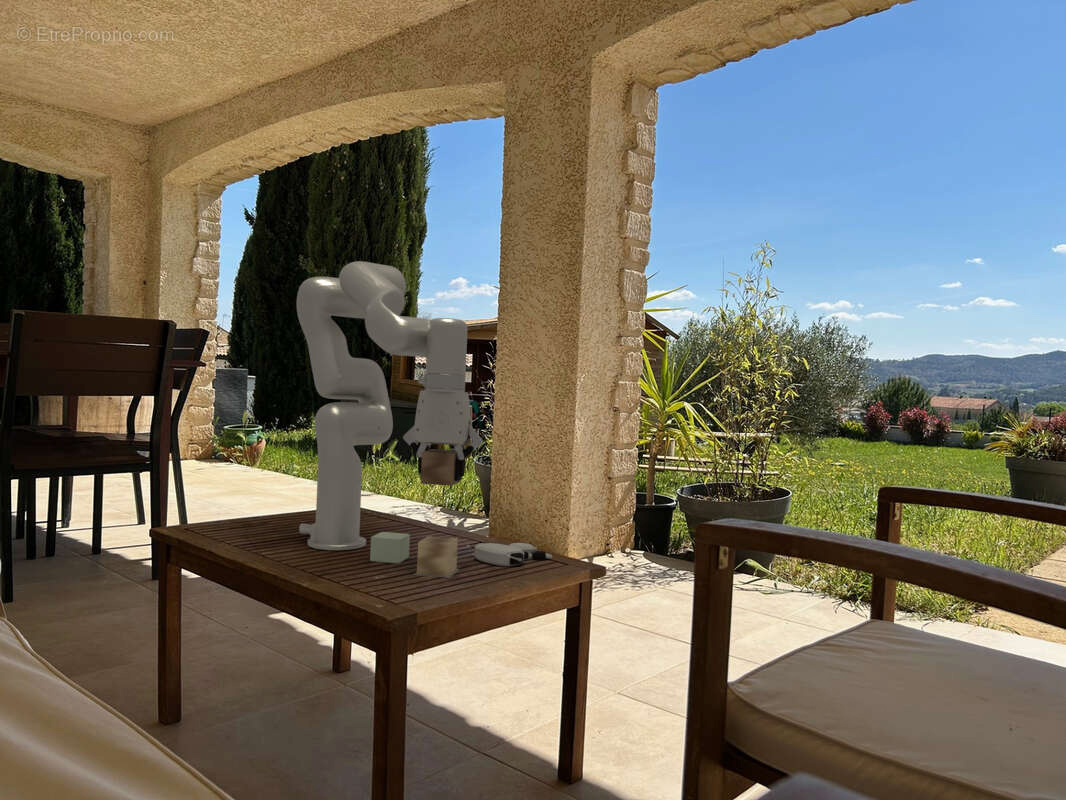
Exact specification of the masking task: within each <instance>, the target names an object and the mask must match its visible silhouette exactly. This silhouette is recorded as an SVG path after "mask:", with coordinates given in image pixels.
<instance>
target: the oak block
mask: <svg viewBox="0 0 1066 800" xmlns="http://www.w3.org/2000/svg"><path fill="white" fill-rule="evenodd" d="M458 543H459V540H458V538H454V537H441V536H431V535H429V536H428V535H427V536H425V538H423V539H421V540H420V541H418V542H417V558H416V559H417V561H416V562H417V563H416V572H417V574H422V575H421V576H423V575H433V576H432V577H434V576H444V577H443V578H445V577H448V576H449V575H451V574H452V573H453V572H454V571H455V570H456V569H458V567H457V565H458V563H457V562H458V545H459V544H458Z"/></svg>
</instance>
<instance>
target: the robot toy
mask: <svg viewBox="0 0 1066 800" xmlns="http://www.w3.org/2000/svg"><path fill="white" fill-rule="evenodd" d="M466 547H468V548H471V549H474V553H473V556H474V557H475V559H476V560H478V561H480V562H482V563H486V564H491V565H496V566H501V567H514V566H519V565H522V564H523V563H524V561H527V560H535V561H546V559H552V558H553V555H552V554H550V553H546V551H545V550H544V551H543V550H538V547H536V546H533V545H532V544H530V543H525V542H514V543H512V542H511V543H510V544H509V545H507V544H502V543H495V542H488V543H487V542H486V543H485V542H484V543H477V545H475V546H473V545H470V544H466Z"/></svg>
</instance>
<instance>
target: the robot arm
mask: <svg viewBox="0 0 1066 800" xmlns="http://www.w3.org/2000/svg"><path fill="white" fill-rule="evenodd" d="M406 288H407V283H406V279H405V276H404V275H403V273H402V272H401V270H399V269H398V268H396V267H395V266H392V265H388V264H387V265H386V264H379V263H375V262H369V261H361V260H359V261H353V262H349V263H348V264H346V265H345V266H343V267H342V269H340V272H339V275H338V277H331V276H314V277H310V278H307V279H305V280H304V281H302V283H301V285H300V286H299V288H298V291H297V296H296V312H297V313H296V314H297V318H298V320H299V324H300V326H301V329H302V331H303V334H304V337H305V339H306V343H307V347H308V348H307V349H308V353H309V359H310V366H311V371H312V375H313V380H314V387H315V389H316V392H317V393H318V395H320V396H321V397H323V398H325V399H330V400H331V399H333V400H357V401H358V402H357V401H356V402H355V401H354V402H353V401H348V402H347V401H340V402H339V401H337V402H336V401H334V402H330V403H327V404H325V405H323V406H321V407H320V408H319V409H318V410H317V412H316V414H315V418H314V429H315V437H316V444H317V480H316V482H317V483H316V486H317V487H316V501H315V502H316V504H315V505H316V508H315V509H316V510H315V523H312V524H309V523H300V525H299V528H298V530H299V533H300V534H305V535H306V534H307V535H309V536H310V538H308V539H307V546H308V547H310V548H313V549H316V550H322V551H323V550H325V551H349V550H356V549H361V548H363V547H366V545H367V539H366V538H365V537H363V536H360V527H361V505H362V503H361V501H362V481H363V480H362V478H363V466H362V461H361V458H360V455H358V453H357V451H356V450H355V446H363V445H364V446H368V445H369V446H371V445H380V444H383V443H385V442H388V440H390V437H391V435H392V433H393V428H394V423H393V414H392V409H391V403H390V397H389V394H388V387H387V382H386V378H385V375H384V372H383V369H382V368H381V367H380V365H379V364H378V363H377V361H376V362H375V361H374V360H372V359H370V358H363V357H359V358H358V357H353V356H351V355H350V353H349V350H348V349H349V348H348V343H347V338H346V336H345V334H344V333H343V331H342V329H341V328H340V326H339V325H338V324H337V323H336V322H335V321H334V320H333V318H331V317H332V316H333V317H334V316H335V317H344V318H352V319H364V324H365V329H366V333H367V334H368V336H369V338H370V339H371V340H372V341H373V342H374V343H375V344H376V345H377V346H378V347H379V348H381V349H382V350H383V351H385V352H387V353H388V354H391V355H393V356H406V357H417V358H425V360H426V361H425V373H424V375H422V376H418V378H417V383H418V384H419V385H423V388H424V390H422V389H421V390H420V391H419V394H418V400H417V404H416V410H415V418H414V425H413V426H412V427H411V428H410V429H409V430H408V431H407V432H405V434H403V436H402V439H403V440H404V441H405V443H407V444H408V445H409V447H410V448H411V449H412V451H413V452H414V453H415V454H416V457H418V464H417V465H418V467H417V473H418V474H419V475H420V479H421V466H422V452H423V451H427V450H430V449H431V445H447V446H448V445H449V446H453V447H454V451H456V453H457V460H455V478H454V480H455V481H459V480H460V481H461V480H462V479H463V477H464V476H465V473H466V459H468V457H469V456H470V455H471V454H472V453H473V452H474V451H475V450H476V449H477V448H479V447H480V446H481V445H482V444H483V443H484V440H483V438H482V437H481V436H480V435H479V433H478V432H477V431H476V430H475V429H474V428H473V427H472V419H471V415H472V414H471V405H470V404H471V403H470V398H469V392H467V391H466V372H467V371H466V370H467V347H468V346H467V344H468V325H467V323H466V322H465V321H464V320H462V319H459V318H449V317H438V318H437V317H436V318H432V319H429V318H422V317H421V318H420V317H412V316H404V315H403V316H402V315H401V314H402V313H403V310H404V307H405V303H406V302H405V293H406ZM465 391H466V392H465ZM471 440H472V443H470V444H469V445H468V446H465V444H467V443H469V441H471Z"/></svg>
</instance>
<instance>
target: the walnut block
mask: <svg viewBox="0 0 1066 800" xmlns="http://www.w3.org/2000/svg"><path fill="white" fill-rule="evenodd" d="M455 460H457V453H456V450H451V449H433V448H430V449H429V450H427V451H423V452H422V466H421V478H420V485H421V484H422V485H435V486H450V487H453V486H455V485H457V484H459V483H461V480H459V481H455V480H454V478H455Z"/></svg>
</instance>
